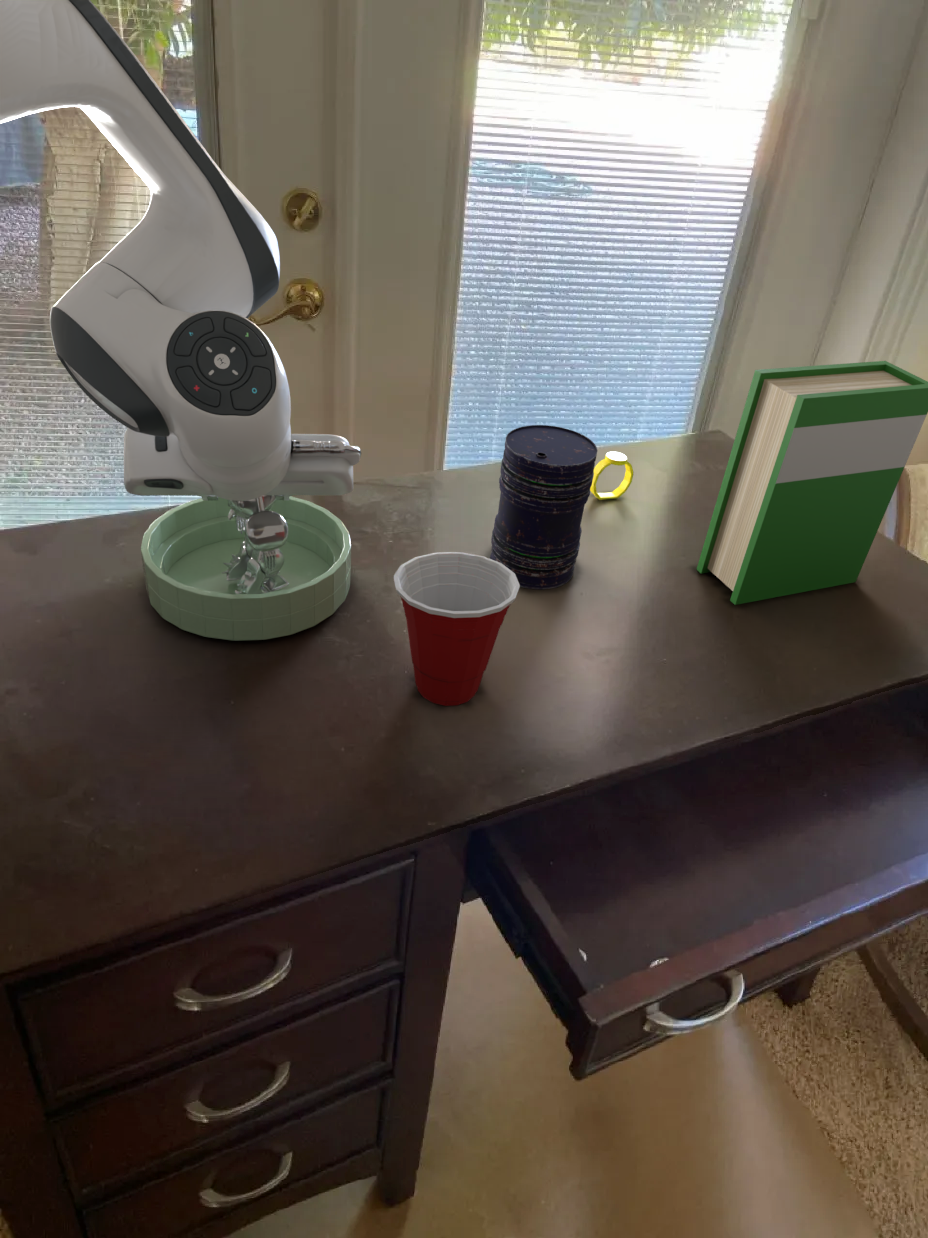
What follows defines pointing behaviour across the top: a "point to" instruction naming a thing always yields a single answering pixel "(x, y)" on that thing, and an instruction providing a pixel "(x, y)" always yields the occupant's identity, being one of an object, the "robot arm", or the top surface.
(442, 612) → the plastic cup
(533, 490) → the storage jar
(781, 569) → the hardback book
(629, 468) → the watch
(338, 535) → the bowl
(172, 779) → the top surface
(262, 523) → the robot toy
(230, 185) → the robot arm
